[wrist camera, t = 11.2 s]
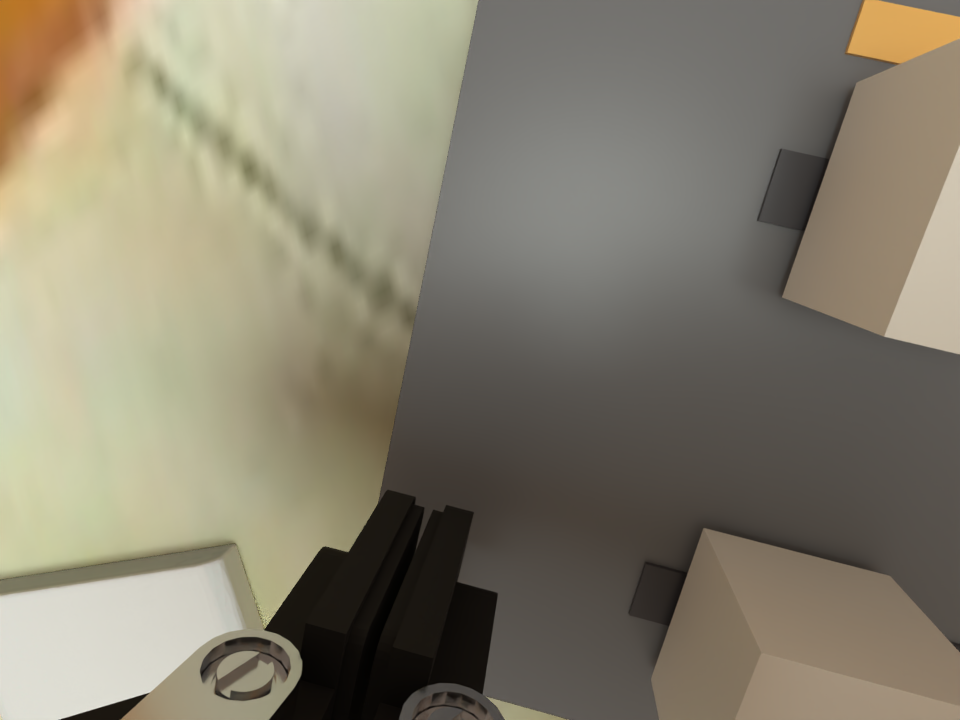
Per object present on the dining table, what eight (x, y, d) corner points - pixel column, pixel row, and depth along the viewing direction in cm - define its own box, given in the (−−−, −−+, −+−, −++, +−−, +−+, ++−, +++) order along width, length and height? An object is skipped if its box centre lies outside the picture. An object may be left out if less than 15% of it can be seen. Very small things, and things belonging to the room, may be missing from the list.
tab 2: (889, 576, 12) (1024, 722, 8) (823, 726, 13) (920, 915, 9) (703, 527, 12) (761, 652, 9) (650, 678, 13) (684, 846, 9)
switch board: (1709, 198, 11) (2040, 194, 9) (1265, 833, 15) (1408, 958, 12) (511, -49, 13) (499, -113, 10) (378, 591, 16) (345, 660, 14)
